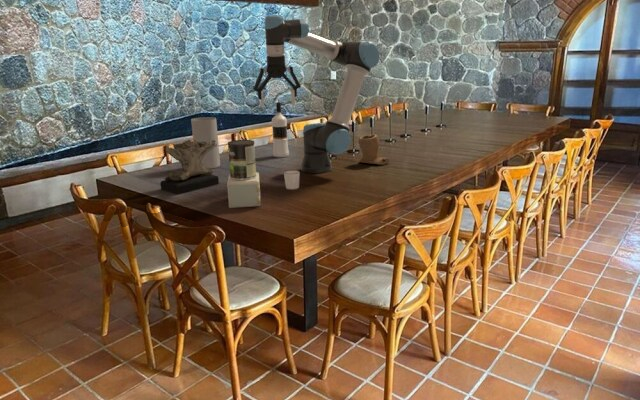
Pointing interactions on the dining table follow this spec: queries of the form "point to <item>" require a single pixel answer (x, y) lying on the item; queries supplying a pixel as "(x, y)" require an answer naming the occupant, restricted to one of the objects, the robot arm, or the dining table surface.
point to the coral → (190, 168)
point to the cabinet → (244, 192)
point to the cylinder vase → (207, 139)
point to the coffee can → (242, 159)
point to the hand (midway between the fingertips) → (278, 105)
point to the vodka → (279, 134)
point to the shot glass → (292, 179)
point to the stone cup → (371, 150)
